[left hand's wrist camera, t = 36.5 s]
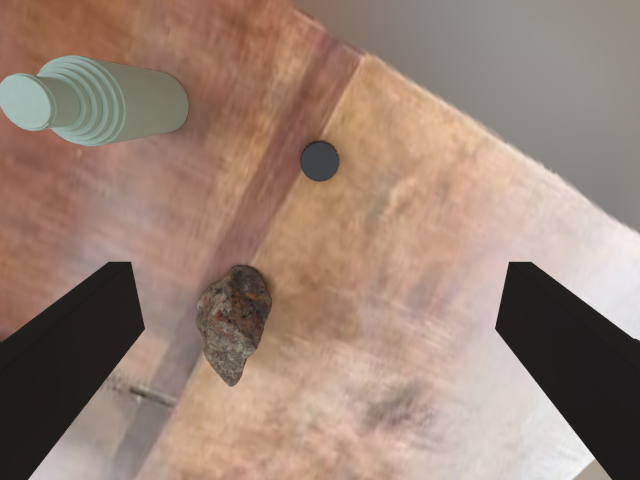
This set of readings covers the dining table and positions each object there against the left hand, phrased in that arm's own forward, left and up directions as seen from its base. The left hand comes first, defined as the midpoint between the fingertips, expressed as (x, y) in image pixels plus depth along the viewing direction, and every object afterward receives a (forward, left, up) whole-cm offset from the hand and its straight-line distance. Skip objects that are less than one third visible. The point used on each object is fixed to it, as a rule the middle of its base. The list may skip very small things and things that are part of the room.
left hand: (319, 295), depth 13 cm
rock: (-5, -24, -33) cm, 41 cm away
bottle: (-19, 0, -33) cm, 38 cm away
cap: (0, 0, -30) cm, 30 cm away
